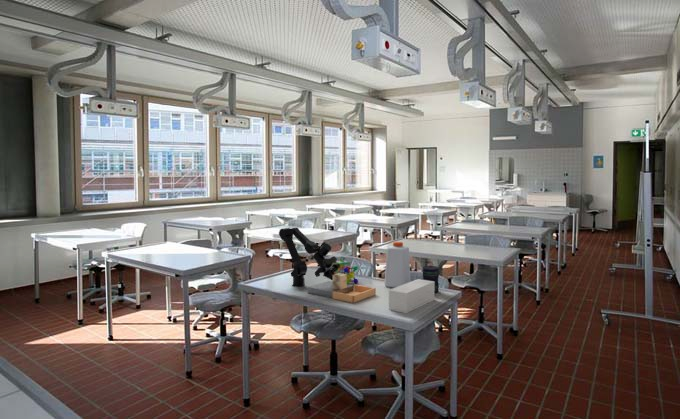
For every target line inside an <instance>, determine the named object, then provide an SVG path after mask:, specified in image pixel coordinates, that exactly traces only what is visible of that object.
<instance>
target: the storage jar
mask: <svg viewBox="0 0 680 419" xmlns="http://www.w3.org/2000/svg"><path fill="white" fill-rule="evenodd" d="M439 269H440V267H439V266H436V265H435V266H434V265H425V266H422V280H428V281H434V282H435V283H434V284H435V286H434V287H435V288H434V289H435V291H434V295H435V294H439V288H440V286H439V285H440V283H439V277H440V276H439V274H440V272H439V271H440V270H439Z"/></svg>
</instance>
